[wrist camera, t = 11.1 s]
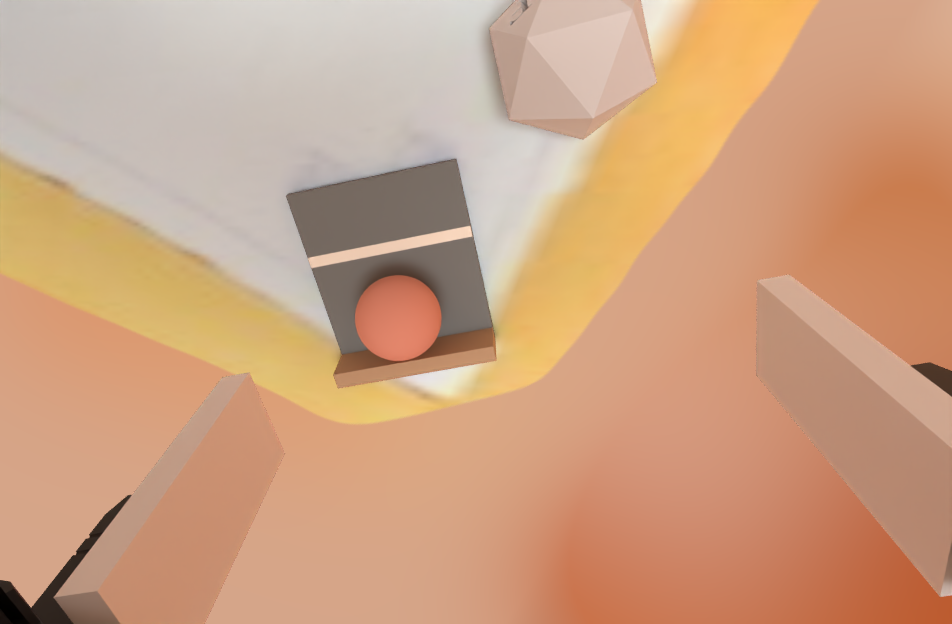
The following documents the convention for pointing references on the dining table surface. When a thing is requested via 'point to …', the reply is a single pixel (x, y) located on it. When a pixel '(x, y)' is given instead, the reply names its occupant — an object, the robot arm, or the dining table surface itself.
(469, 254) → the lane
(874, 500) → the robot arm
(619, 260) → the dining table surface
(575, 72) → the die
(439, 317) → the ball
